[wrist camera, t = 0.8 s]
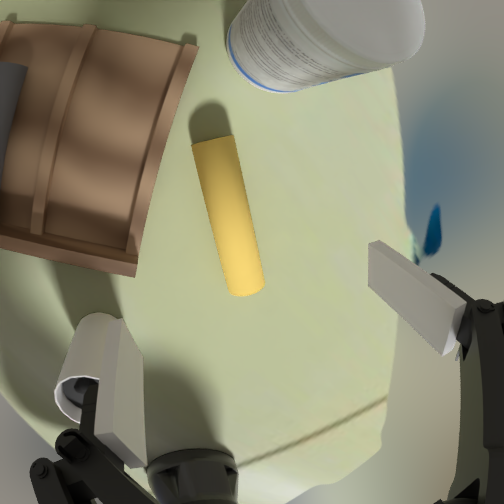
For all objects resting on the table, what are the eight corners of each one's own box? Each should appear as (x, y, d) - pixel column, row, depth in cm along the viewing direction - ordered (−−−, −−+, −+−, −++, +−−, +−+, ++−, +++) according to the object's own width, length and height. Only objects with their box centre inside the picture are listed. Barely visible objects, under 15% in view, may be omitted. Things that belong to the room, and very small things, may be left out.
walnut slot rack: (136, 262, 28) (135, 277, 25) (-38, 223, 20) (-54, 233, 17) (197, 51, 23) (202, 40, 20) (6, 25, 15) (-7, 15, 12)
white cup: (61, 333, 28) (40, 399, 19) (98, 296, 28) (81, 361, 19) (106, 368, 31) (101, 437, 22) (145, 336, 31) (148, 406, 22)
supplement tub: (299, 110, 27) (410, 102, 14) (207, 70, 24) (260, 7, 10) (330, 33, 25) (437, -7, 12) (247, -10, 21) (319, -92, 8)
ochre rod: (248, 273, 33) (272, 282, 30) (221, 289, 31) (244, 300, 28) (217, 137, 27) (242, 133, 24) (183, 146, 25) (206, 142, 22)
